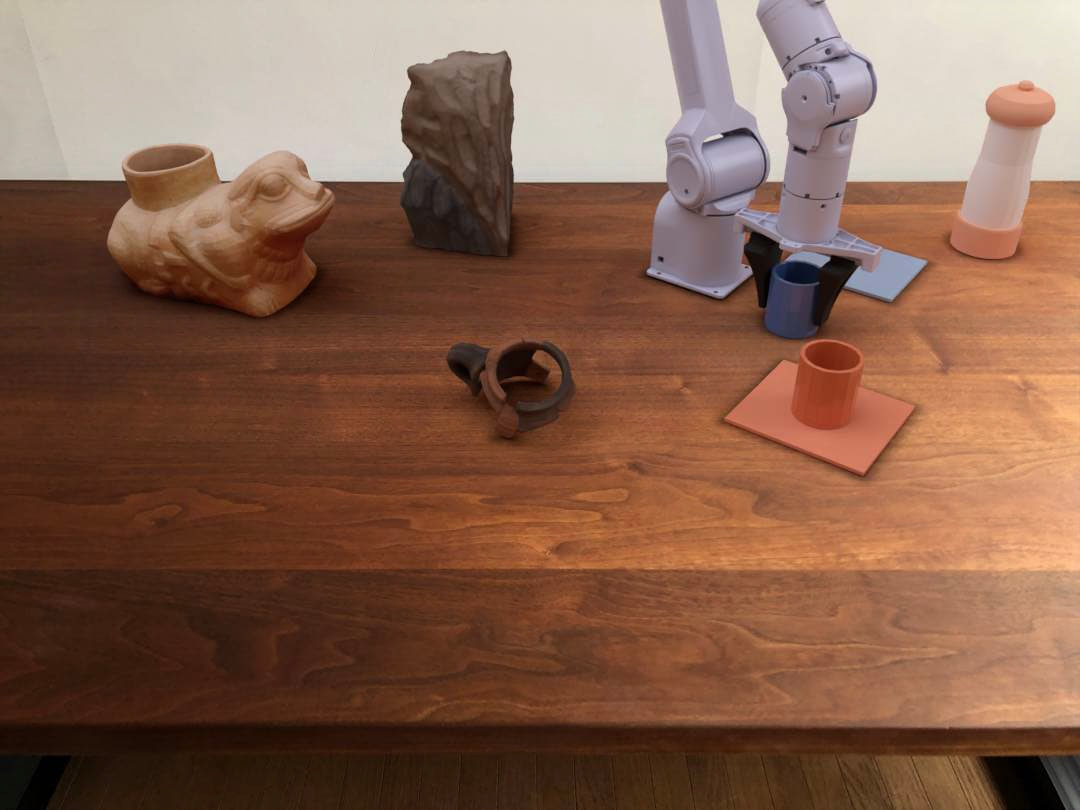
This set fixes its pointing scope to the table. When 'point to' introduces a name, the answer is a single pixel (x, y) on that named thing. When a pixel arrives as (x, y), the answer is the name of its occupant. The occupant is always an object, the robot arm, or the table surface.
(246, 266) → the ceramic vessel
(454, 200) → the grey brown rock
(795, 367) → the coral mat
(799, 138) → the robot arm
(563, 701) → the table surface
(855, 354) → the terracotta cup
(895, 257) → the blue mat
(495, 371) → the dark brown ring-shaped piece
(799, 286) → the blue cup
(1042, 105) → the salt shaker
